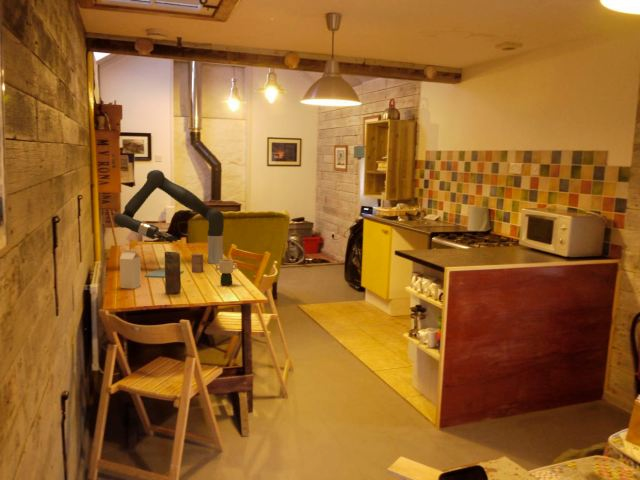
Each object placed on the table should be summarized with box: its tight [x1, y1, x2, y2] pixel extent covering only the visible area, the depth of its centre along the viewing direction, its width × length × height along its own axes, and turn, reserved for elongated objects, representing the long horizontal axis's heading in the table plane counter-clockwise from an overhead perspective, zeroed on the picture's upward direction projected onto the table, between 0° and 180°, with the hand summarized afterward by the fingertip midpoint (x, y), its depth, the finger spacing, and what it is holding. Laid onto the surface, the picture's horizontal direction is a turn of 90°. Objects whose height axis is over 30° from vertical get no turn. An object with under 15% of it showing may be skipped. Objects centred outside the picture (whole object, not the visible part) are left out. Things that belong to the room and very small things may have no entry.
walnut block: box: [191, 253, 204, 274], centre depth 309 cm, size 5×5×10 cm
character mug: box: [215, 258, 238, 286], centre depth 279 cm, size 11×7×13 cm, turn 107°
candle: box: [164, 251, 182, 295], centre depth 261 cm, size 8×7×20 cm
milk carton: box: [119, 249, 142, 290], centre depth 270 cm, size 7×7×19 cm
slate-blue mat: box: [144, 269, 185, 279], centre depth 301 cm, size 16×16×1 cm
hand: (175, 240), depth 308 cm, fingers open, 8 cm apart
